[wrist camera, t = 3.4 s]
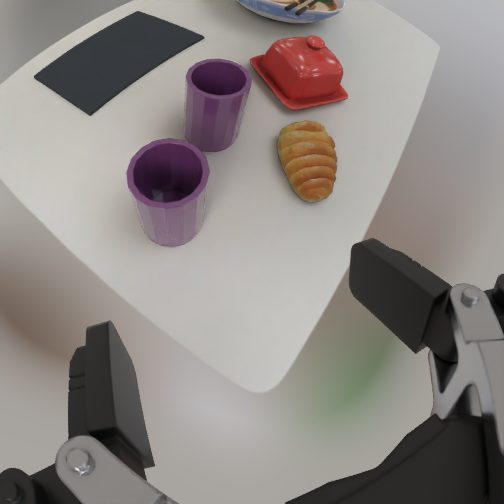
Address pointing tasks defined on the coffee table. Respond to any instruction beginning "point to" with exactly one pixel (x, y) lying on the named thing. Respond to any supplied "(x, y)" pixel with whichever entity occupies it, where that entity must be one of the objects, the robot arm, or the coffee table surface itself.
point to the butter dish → (301, 72)
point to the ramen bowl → (295, 9)
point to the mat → (114, 59)
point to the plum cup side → (214, 103)
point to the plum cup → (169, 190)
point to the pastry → (308, 159)
